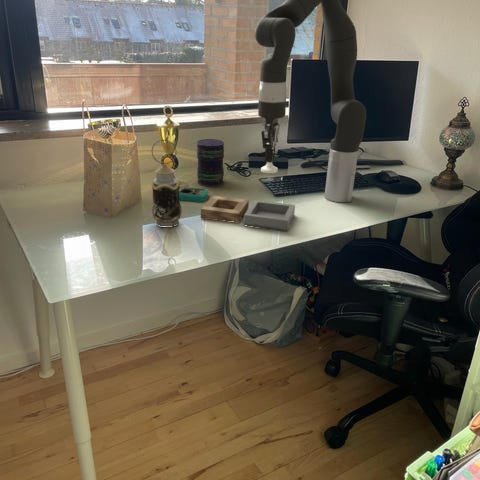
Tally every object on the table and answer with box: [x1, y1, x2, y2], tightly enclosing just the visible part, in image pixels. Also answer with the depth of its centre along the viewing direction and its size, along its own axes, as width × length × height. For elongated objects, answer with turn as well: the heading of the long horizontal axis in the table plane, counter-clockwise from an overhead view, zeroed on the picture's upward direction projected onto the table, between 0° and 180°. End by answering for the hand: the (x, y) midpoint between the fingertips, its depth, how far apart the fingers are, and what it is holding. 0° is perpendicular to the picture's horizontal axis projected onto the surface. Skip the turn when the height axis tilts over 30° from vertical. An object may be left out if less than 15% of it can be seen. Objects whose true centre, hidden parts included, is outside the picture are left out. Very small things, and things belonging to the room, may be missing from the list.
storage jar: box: [196, 138, 225, 187], centre depth 168 cm, size 10×10×15 cm
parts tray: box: [243, 199, 296, 233], centre depth 139 cm, size 13×13×4 cm
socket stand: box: [200, 195, 250, 223], centre depth 144 cm, size 12×12×3 cm
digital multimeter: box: [179, 186, 209, 203], centre depth 156 cm, size 7×15×3 cm, turn 82°
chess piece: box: [260, 143, 278, 174], centre depth 132 cm, size 5×5×10 cm
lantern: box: [151, 139, 183, 226], centre depth 131 cm, size 9×8×25 cm
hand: (269, 160), depth 133 cm, fingers closed on chess piece
